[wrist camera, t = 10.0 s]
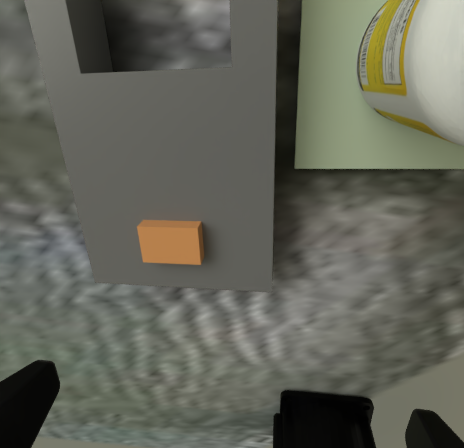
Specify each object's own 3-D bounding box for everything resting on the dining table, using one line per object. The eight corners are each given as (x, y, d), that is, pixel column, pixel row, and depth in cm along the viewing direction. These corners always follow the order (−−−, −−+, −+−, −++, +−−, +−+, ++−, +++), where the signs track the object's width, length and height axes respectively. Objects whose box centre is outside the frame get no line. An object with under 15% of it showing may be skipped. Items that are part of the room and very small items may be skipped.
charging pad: (590, -109, 12) (604, -118, 11) (503, 165, 16) (511, 169, 15) (305, -80, 13) (306, -86, 12) (294, 165, 17) (294, 168, 17)
